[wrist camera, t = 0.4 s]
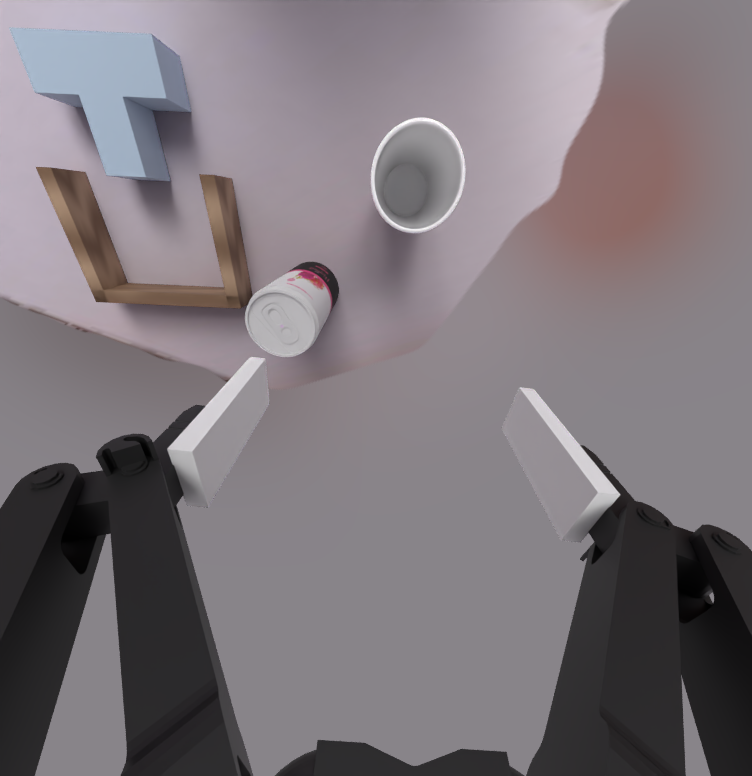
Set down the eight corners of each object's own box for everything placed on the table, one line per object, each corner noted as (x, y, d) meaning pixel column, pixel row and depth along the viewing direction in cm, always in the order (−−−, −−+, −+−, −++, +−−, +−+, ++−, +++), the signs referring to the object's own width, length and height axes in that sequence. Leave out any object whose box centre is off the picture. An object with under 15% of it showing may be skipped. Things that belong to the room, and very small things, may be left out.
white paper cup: (406, 239, 36) (418, 254, 23) (362, 196, 34) (349, 187, 21) (447, 187, 33) (488, 171, 20) (402, 137, 31) (416, 84, 18)
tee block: (54, 50, 28) (9, 27, 25) (179, 56, 28) (151, 33, 25) (100, 178, 33) (67, 173, 30) (206, 182, 33) (185, 179, 30)
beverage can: (322, 251, 37) (289, 273, 24) (348, 299, 40) (330, 341, 27) (279, 275, 38) (227, 308, 25) (307, 319, 41) (272, 369, 28)
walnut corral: (71, 171, 33) (35, 166, 30) (231, 178, 33) (214, 175, 30) (121, 294, 40) (96, 301, 37) (253, 300, 40) (240, 308, 37)
